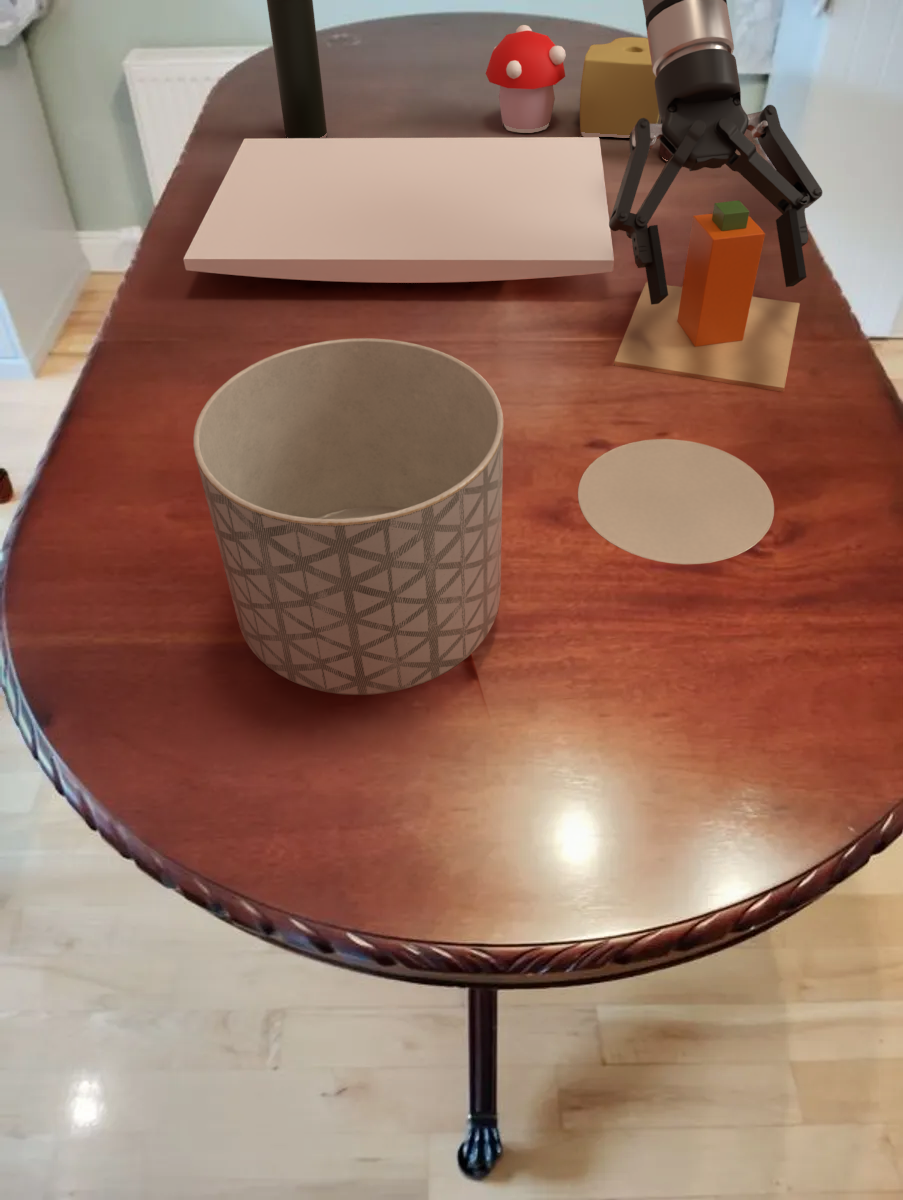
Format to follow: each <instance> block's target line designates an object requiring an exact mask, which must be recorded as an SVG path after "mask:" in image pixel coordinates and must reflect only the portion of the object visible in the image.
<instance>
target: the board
mask: <svg viewBox="0 0 903 1200" xmlns="http://www.w3.org/2000/svg"><path fill="white" fill-rule="evenodd" d="M605 181H606V180H605V173H604V164H603V157H602V149H601V139H600V138H599V137H581V136H579V137H578V136H572V137H570V136H567V137H565V136H563V137H561V136H560V137H557V136H556V137H555V136H554V137H553V136H552V137H549V136H548V137H547V136H545V137H541V136H540V137H539V136H537V137H535V136H534V137H533V136H532V137H333V138H332V137H327V138H286V137H285V138H284V137H283V138H271V137H270V138H265V137H264V138H244V139H243V141H242V143H241V144H240V146H239V148H238V150H237V152H236V154H235V156H234V158H233V160H232V162H231V163H230V166H229V168H228V170H227V172H226V174H225V176H224V178H223V180H222V182H221V183H220V186H219V188H218V189H217V192H216V193H215V195H214V197H213V200H212V201H211V203H210V205H209V207H208V209H207V211H206V213H205V215H204V217H203V219H202V221H201V223H200V225H199V226H198V228H197V231H196V233H195V235H194V236H193V238H192V240H191V243H190V244H189V247H188V249H187V251H186V252H185V255H184V256H183V258H182V259H183V264H184V268H185V271H191V272H200V273H208V274H209V273H210V274H220V275H232V276H239V277H240V276H241V277H242V276H243V277H254V278H266V279H281V280H297V281H299V280H300V281H320V282H343V283H344V282H345V283H385V284H386V283H387V284H388V283H390V284H391V283H397V284H399V283H401V284H402V283H403V284H404V283H405V284H406V283H407V284H409V283H411V284H413V283H414V284H415V283H416V284H417V283H418V284H420V283H469V282H471V283H473V282H492V281H493V282H495V281H516V280H531V279H532V280H533V279H546V278H547V279H548V278H557V277H560V278H561V277H571V276H572V277H573V276H582V275H583V276H584V275H593V274H594V275H595V274H606V273H613V272H614V267H615V266H614V264H615V257H614V247H613V240H612V239H613V238H612V230H611V229H610V227H609V221H610V214H609V206H608V198H607V190H606V182H605Z"/></svg>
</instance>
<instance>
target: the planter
mask: <svg viewBox="0 0 903 1200" xmlns="http://www.w3.org/2000/svg"><path fill="white" fill-rule="evenodd" d="M504 424H505V423H504V414H503V409H502V405H501V402H500V400H499V397H498V395H497V394H496V392H495V390H494V388H493V387H492V386H491V384H489V382H488V381H487V380H486V379H485V378H484V377H483V376H482V375H481V374H480V373H479V372H478V371H477V370H475V369H474V368H473V367H471V366H470V365H468V364H467V363H465V362H464V361H462V360H460V359H458V358H456V357H454V356H452V355H451V354H448V353H446V352H443V351H441V350H438V349H436V348H432V347H429V346H425V345H422V344H418V343H413V342H409V341H403V340H397V339H396V340H395V339H387V338H371V337H370V338H367V337H363V338H362V337H361V338H341V339H332V340H325V341H320V342H314V343H308V344H305V345H301V346H300V345H299V346H296V347H292V348H290V349H286V350H283V351H281V352H278V353H275V354H272V355H270V356H268V357H265V358H263V359H260V360H259V361H257V362H255V363H252V364H251V365H249V366H247V367H246V368H244V369H242V370H240V371H239V372H238V373H236V374H235V375H233V376H231V378H229V379H228V380H227V381H226V382H225V383H224V384H222V385H221V386H220V387H219V388H217V390H216V391H215V392H214V393H213V394H212V395H211V396H210V398H209V399H208V400H207V402H206V403H205V405H204V406H203V408H202V409H201V411H200V412H199V415H198V417H197V419H196V423H195V426H194V431H193V451H194V457H195V461H196V464H197V469H198V472H199V477H200V479H201V484H202V487H203V492H204V496H205V500H206V503H207V506H208V510H209V515H210V518H211V522H212V527H213V530H214V535H215V538H216V542H217V545H218V549H219V553H220V557H221V561H222V566H223V568H224V572H225V576H226V580H227V584H228V587H229V588H228V589H229V592H230V595H231V600H232V603H233V607H234V610H235V615H236V619H237V621H238V622H237V623H238V626H239V629H240V632H241V635H242V637H243V639H244V640H245V642H246V644H247V645H248V647H249V648H250V650H251V652H252V653H253V654H254V655H255V656H256V657H257V658H258V660H260V662H262V664H264V665H265V666H266V667H267V668H269V669H270V670H272V671H273V672H275V674H277V675H278V676H281V677H282V678H284V679H286V680H288V681H290V682H292V683H295V684H298V685H300V686H303V687H306V688H307V689H311V690H315V691H319V692H324V693H330V694H336V695H347V696H370V695H380V694H381V695H382V694H388V693H394V692H398V691H402V690H407V689H411V688H413V687H416V686H420V685H423V684H426V683H427V682H430V681H432V680H434V679H437V678H439V677H440V676H442V675H444V674H446V673H447V672H449V671H451V670H452V669H454V668H455V667H457V666H458V665H460V664H461V663H462V662H464V661H465V660H466V659H467V658H468V657H469V656H470V655H472V654H473V653H474V652H475V651H476V650H477V649H478V648H479V646H480V645H482V643H483V642H484V640H485V639H486V637H488V635H489V633H490V631H491V629H492V627H493V625H494V623H495V621H496V618H497V615H498V613H499V608H500V604H501V594H502V593H501V591H502V589H501V588H502V541H503V539H502V537H503V535H502V533H503V532H502V531H503V480H504V477H503V475H504V426H505V425H504Z"/></svg>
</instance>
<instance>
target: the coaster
mask: <svg viewBox="0 0 903 1200" xmlns="http://www.w3.org/2000/svg"><path fill="white" fill-rule="evenodd" d="M682 287H683V286H677V285H669V284H667V290H668V296H667V297H666V298H665V299H663V300H662V301H661V302H660V303H659V304H652V305H651V300H650V294H649V287H648V281H645V283H644V286H643V288H642V290H641V293H640V296H639V298H638V300H637V303H636V305H635V308H634V310H633V313H632V316H631V318H630V320H629V323H628V326H627V327H626V331H625V333H624V336H623V338H622V340H621V342H620V345H619V348H618V350H617V353H616V355H615V358H614V360H613V366H616V367H617V366H618V367H623V368H630V369H636V370H642V371H648V372H655V373H661V374H667V375H673V376H674V375H675V376H681V377H685V378H693V379H700V380H705V381H713V382H719V383H725V384H731V385H737V386H744V387H749V388H757V389H761V390H768V391H774V392H781V393H784V392H785V387H786V382H787V376H788V371H789V366H790V360H791V354H792V349H793V344H794V339H795V332H796V328H797V321H798V317H799V312H800V305H801V303H800V302H794V301H787V300H779V299H772V298H771V299H770V298H764V297H757V296H752V299H751V304H750V309H749V313H748V318H747V323H746V328H745V332H744V337H743V340H741V341H733V342H726V343H718V344H711V345H704V346H696V347H695V346H694V344H693V343H692V341H691V340H690V339H689V337H688V336H687V334H686V333H685V331H684V330H683V329H682V327H681V326H680V324H679V323H678V321H677V319H678V313H679V306H680V300H681V293H682Z"/></svg>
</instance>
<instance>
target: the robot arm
mask: <svg viewBox="0 0 903 1200" xmlns="http://www.w3.org/2000/svg"><path fill="white" fill-rule="evenodd" d="M641 1H642V5H643V6H642V7H643V12H644V17H645V27H646V36H647V37H646V38H648V43H649V50H650V56H651V63H652V69H653V73H654V74H655V76H656V79H655V90H656V96H657V103H658V109H659V118H660V123H657V124H650V123H649V121H648V120H647V119H646V118H641V119H639V120H638V122H637V123H636V125H635V126H634V128H633V130H632V131H631V133H630V136H629V138H630V139H629V156H628V160H627V164H626V166H625V170H624V173H623V176H622V180H621V183H620V186H619V189H618V192H617V196H616V198H615V202H614V206H613V208H612V212H611V215H610V217H609V227H610V230H611V231H613V232H618V231H621V232H622V231H623V232H625V235H626V237H627V238H629V239H631V244H632V245H631V246H632V250H633V258H634V263H635V265H636V267H637V269H642V268H645V273H646V274H645V275H646V282H648V287H649V294H650V300H651V305H652V304H659V303H660V302H661V301H662V300H663V299H665V298H666V297H667V296H668V290H667V285H668V284H667V283H668V282H667V278H666V270H665V264H664V258H663V251H662V247H661V246H662V245H661V240H660V239H661V238H660V233H659V232H660V231H659V226H658V224H655V225H654V224H653V225H649V226H648V224H649V222H650V220H651V219H652V217H653V215H654V214H655V212H656V210H657V209H658V207H659V205H660V204H661V202H662V200H663V199H664V198H665V196H666V194H667V192H668V191H669V189H670V188H671V185H672V184H673V182H674V181H675V179H676V177H677V175H678V174H679V172H680V171H681V169H682V167H684V168H686V169H689V172H695V171H699V170H702V169H703V168H708V169H720V168H722V167H723V166H724V165H726V167H728V168H729V169H730V170H731V171H733V172H737V173H739V174H740V175H741V176H742V177H743V178H744V179H745V180H746V181H747V182H748V183H749V184H750V185H751V186H752V187H753V188H754V189H756V190H757V191H758V192H759V193H760V194H761V195H762V196H763V197H764V198H765V199H766V200H767V201H768V202H769V203H770V204H771V205H772V206H774V208H775V209H777V210H778V211H779V213H781V215H779V217H777V218H776V219H775V223H776V224H775V225H776V232H777V237H778V244H779V250H780V256H781V257H780V258H781V265H782V269H783V270H782V271H783V276H784V277H783V278H784V283H785V288H790V287H795V286H796V285H797V284H799V283H800V282H802V281H803V280H805V279H806V278H807V271H806V265H805V258H804V253H803V251H804V250H803V247H804V246H805V245H806V244H808V243H809V242H808V240H809V232H808V225H807V219H806V212H805V211H806V209H807V208H809V207H810V206H812V205H813V204H814V203H815V202H817V201H818V200H819V199H820V198H822V196H823V189H822V187H821V186H820V184H819V183H818V181H817V179H816V178H815V177H814V175H813V174H812V172H811V171H810V169H809V168H808V166H807V164H806V163H805V161H804V160H803V158H802V156H801V155H800V153H799V152H798V151H797V149H796V148H795V146H794V144H793V143H792V142H791V140H790V138H789V137H788V136H787V134H786V132H785V131H784V129H783V128H782V125H781V121H780V118H779V114H778V110H777V108H776V107H775V105H773V104H767V105H766V106H765V107H764V108H763V109H761V111H757V112H756V111H755V112H752V113H746V111H745V110H744V108H743V106H742V100H741V99H742V91H741V84H740V78H739V72H738V71H739V70H738V65H737V59H736V56H735V55H734V54H733V53H734V50H735V45H734V39H733V33H732V32H733V31H732V26H731V19H730V14H729V8H728V2H727V0H641ZM747 130H748V131H749V132H750V133H751V137H752V138H753V139H756V138H757V141H758V143H759V146H760V148H761V149H762V151H763V152H764V154H765V155H766V157H767V158H768V160H769V162H770V163H771V164H772V165H771V164H770V163H769V162H768V161H767V160H766V159H765V157H763V156H762V155H761V154H760V153H759V152H758V151H757V147H756V145H755V144H754V143H753V142H752V141H751V140H750V139H749V137H747V136H746V135H745V134H746V131H747ZM657 140H658V141H659V143H660V142H661V143H662V144H663V145H664V146H665V147H666V148H667V149H668V151H669V152H670V153H671V154H672V155H671V156H670V158H669V160H668V161H667V162H666V163H665V165H664V166H663V167H662V169H661V172H660V174H659V175H658V177H657V179H656V180H655V181H654V184H653V185H652V187H651V189H650V190H649V192H648V193H647V195H646V197H645V198H644V200H643V202H642V203H641V205H640V207H639V208H638V210H637V211H636V213H633V212H631V211H632V207H633V204H634V201H635V199H636V194H637V192H638V187H639V184H640V182H641V179H642V175H643V171H644V168H645V165H646V162H647V159H648V156H649V152H650V150H651V149H652V148H653V147H654V145H655V144H656V142H657ZM736 151H738V152H739V153H740V154H737V153H736Z"/></svg>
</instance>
